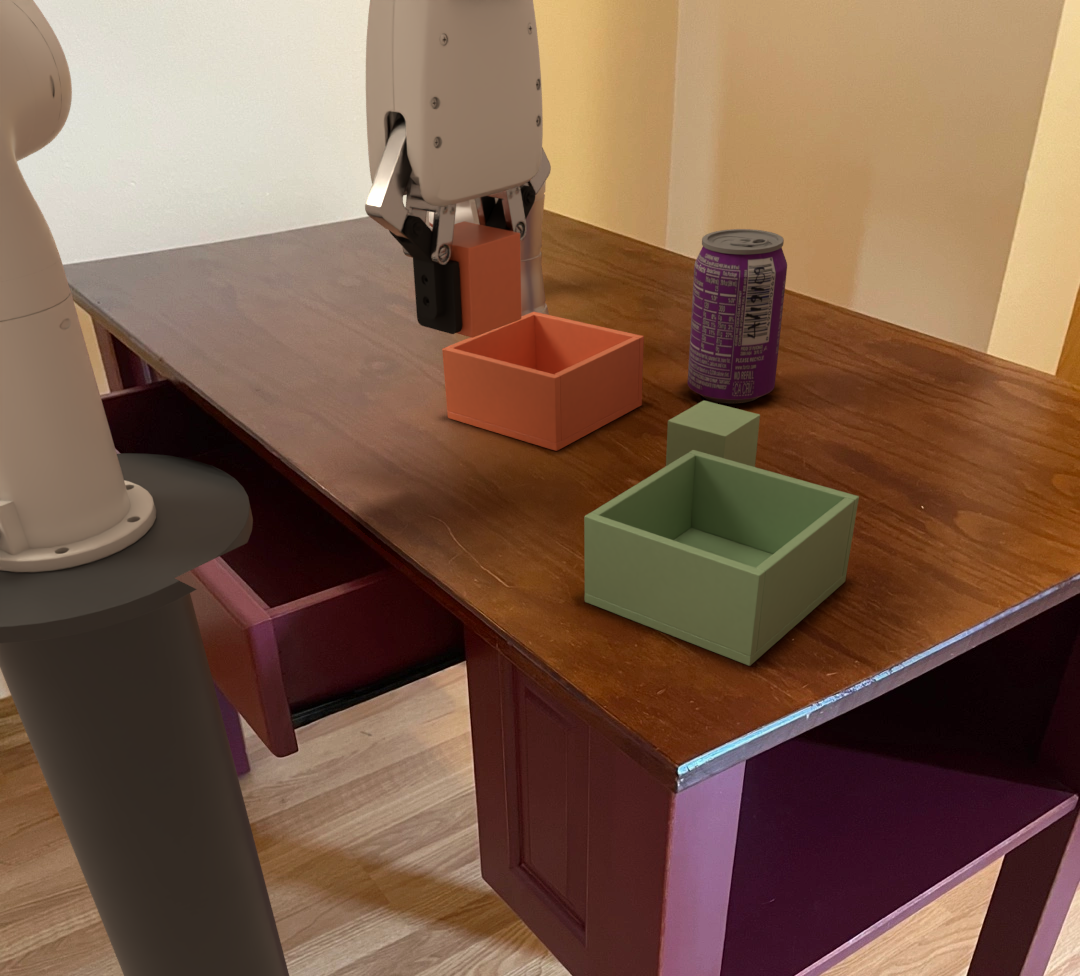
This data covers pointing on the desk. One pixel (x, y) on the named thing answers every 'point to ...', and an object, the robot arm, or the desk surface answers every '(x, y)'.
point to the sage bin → (718, 553)
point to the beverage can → (736, 315)
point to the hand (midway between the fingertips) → (469, 314)
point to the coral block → (487, 276)
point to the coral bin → (544, 379)
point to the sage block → (714, 433)
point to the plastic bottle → (530, 257)
